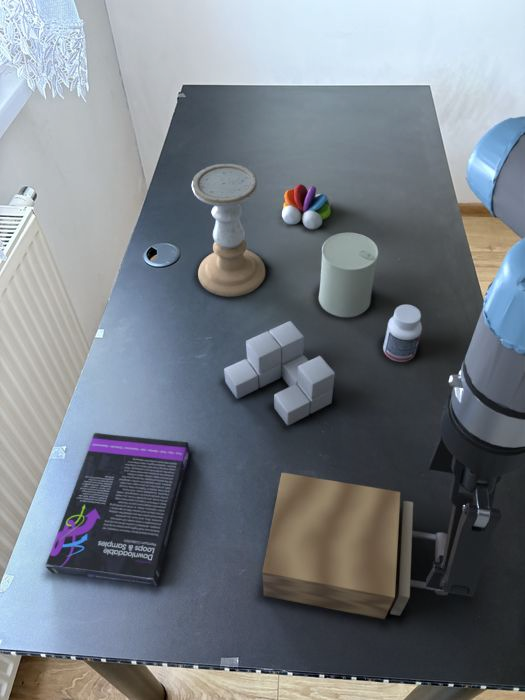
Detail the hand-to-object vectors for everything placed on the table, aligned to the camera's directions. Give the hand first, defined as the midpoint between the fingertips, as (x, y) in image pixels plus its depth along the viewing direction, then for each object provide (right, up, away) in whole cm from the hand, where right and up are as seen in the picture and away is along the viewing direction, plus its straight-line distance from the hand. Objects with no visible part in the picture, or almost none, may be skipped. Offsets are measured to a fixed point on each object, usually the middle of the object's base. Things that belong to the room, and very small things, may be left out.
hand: (440, 523), depth 63 cm
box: (-37, -3, +18) cm, 42 cm away
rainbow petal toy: (-10, +45, +57) cm, 73 cm away
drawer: (-6, -8, +11) cm, 15 cm away
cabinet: (-10, -8, +13) cm, 18 cm away
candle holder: (-24, +32, +47) cm, 62 cm away
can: (-4, +27, +42) cm, 50 cm away
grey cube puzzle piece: (-17, +12, +29) cm, 36 cm away
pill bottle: (+3, +18, +34) cm, 39 cm away
